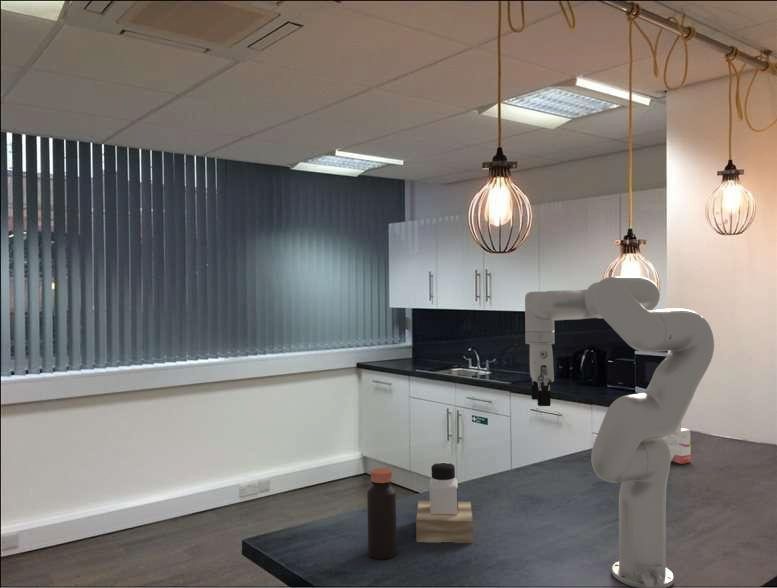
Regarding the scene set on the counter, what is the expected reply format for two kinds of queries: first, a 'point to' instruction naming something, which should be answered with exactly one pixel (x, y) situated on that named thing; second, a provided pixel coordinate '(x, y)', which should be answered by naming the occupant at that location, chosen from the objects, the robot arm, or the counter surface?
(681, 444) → the ink cartridge box
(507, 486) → the counter surface
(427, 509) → the birch block
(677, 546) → the counter surface
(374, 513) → the vinegar
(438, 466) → the medicine bottle
